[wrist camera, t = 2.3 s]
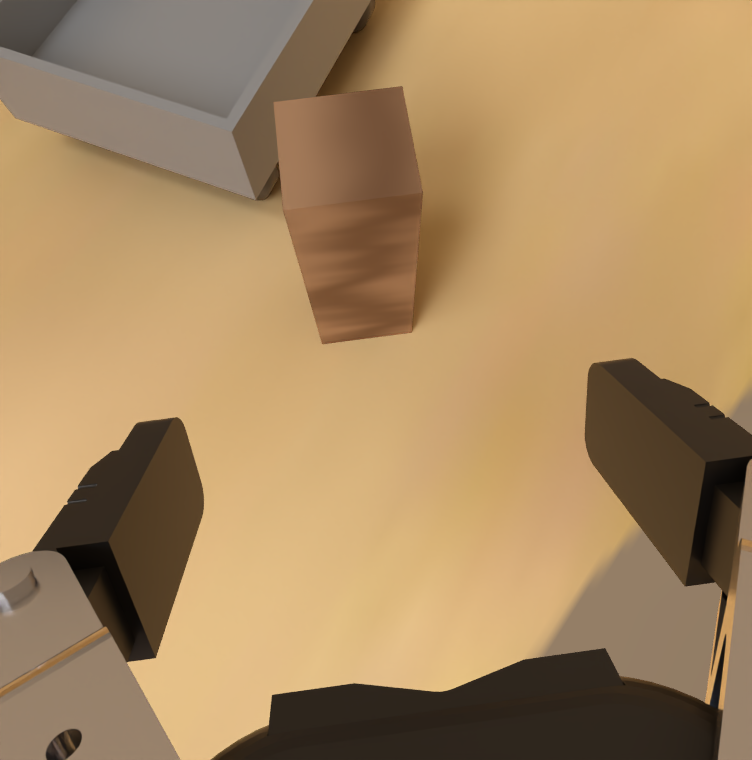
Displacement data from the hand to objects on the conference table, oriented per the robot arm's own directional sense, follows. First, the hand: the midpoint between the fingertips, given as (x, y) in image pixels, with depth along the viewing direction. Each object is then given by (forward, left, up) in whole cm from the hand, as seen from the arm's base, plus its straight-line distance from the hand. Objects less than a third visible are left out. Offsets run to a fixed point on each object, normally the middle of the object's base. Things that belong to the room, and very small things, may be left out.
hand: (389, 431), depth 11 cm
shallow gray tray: (-21, +23, -18) cm, 36 cm away
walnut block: (-6, +11, -18) cm, 22 cm away
